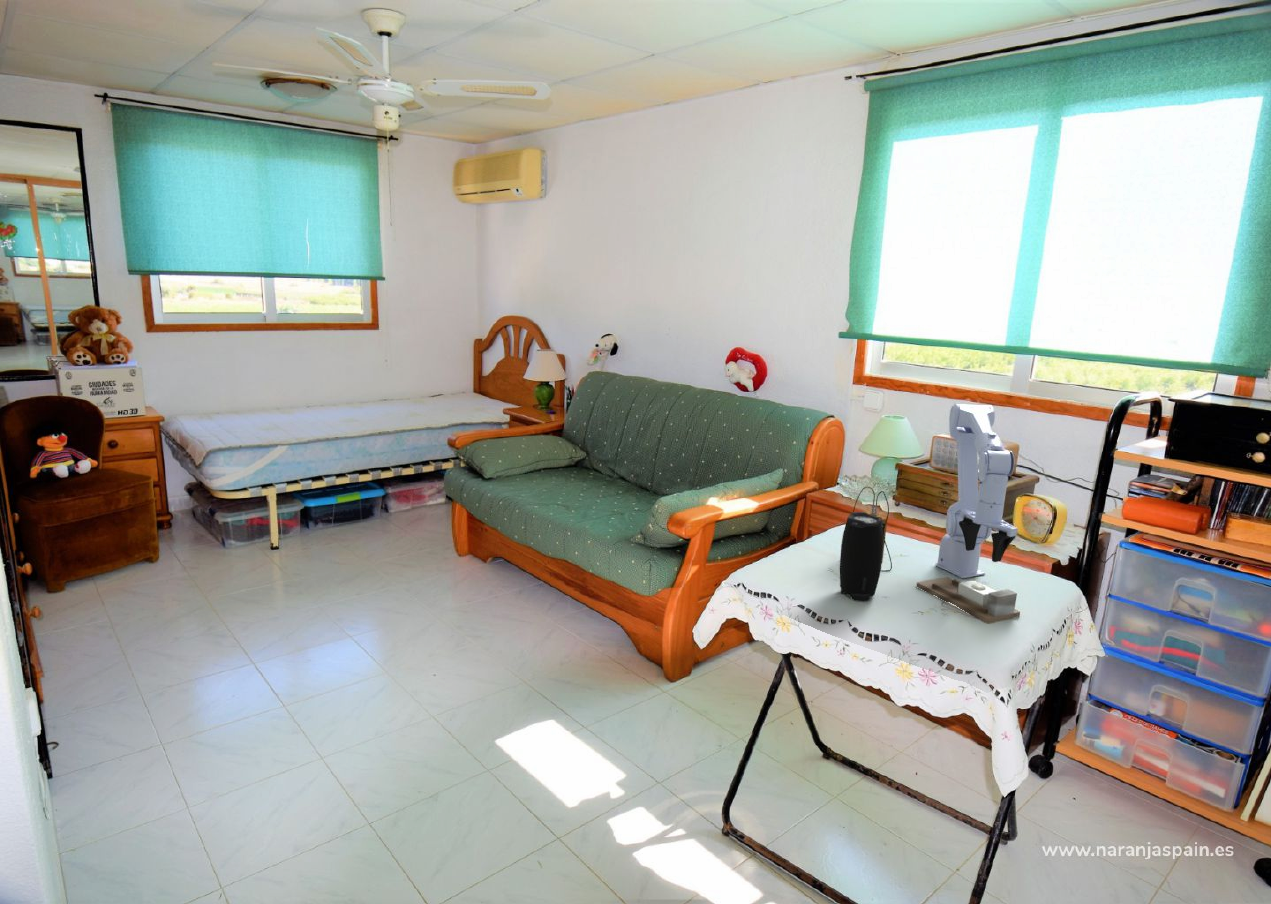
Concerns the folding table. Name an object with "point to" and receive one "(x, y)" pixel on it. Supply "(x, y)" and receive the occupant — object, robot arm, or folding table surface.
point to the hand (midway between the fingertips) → (982, 555)
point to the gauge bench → (997, 603)
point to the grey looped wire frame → (882, 521)
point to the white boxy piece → (974, 592)
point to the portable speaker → (861, 555)
